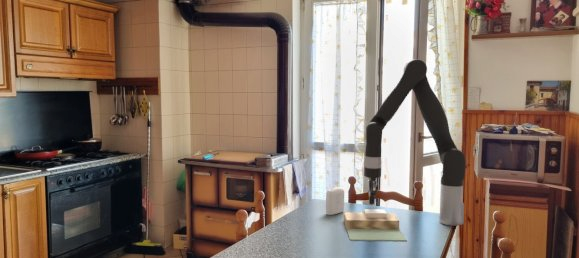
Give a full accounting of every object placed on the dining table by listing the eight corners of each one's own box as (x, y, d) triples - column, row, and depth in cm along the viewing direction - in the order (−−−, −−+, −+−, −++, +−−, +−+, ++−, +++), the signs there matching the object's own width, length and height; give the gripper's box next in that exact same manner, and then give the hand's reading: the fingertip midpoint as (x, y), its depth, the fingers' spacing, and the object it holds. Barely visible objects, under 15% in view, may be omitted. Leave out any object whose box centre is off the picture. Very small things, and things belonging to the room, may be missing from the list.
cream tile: (384, 213, 192) (384, 209, 192) (386, 217, 186) (386, 213, 186) (363, 213, 193) (363, 209, 192) (365, 217, 187) (365, 213, 186)
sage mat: (399, 230, 182) (399, 229, 182) (406, 241, 169) (406, 240, 169) (346, 229, 183) (346, 228, 183) (350, 240, 170) (350, 239, 170)
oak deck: (393, 221, 194) (393, 212, 194) (399, 230, 182) (399, 220, 182) (343, 221, 195) (344, 212, 195) (346, 229, 183) (346, 220, 183)
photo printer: (338, 210, 213) (338, 185, 212) (345, 211, 210) (345, 186, 209) (324, 214, 206) (324, 188, 205) (331, 216, 203) (331, 189, 202)
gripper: (383, 169, 189) (382, 208, 190) (378, 164, 202) (377, 200, 204) (366, 168, 189) (365, 207, 191) (362, 163, 202) (361, 200, 204)
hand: (371, 204), depth 197 cm, fingers closed
